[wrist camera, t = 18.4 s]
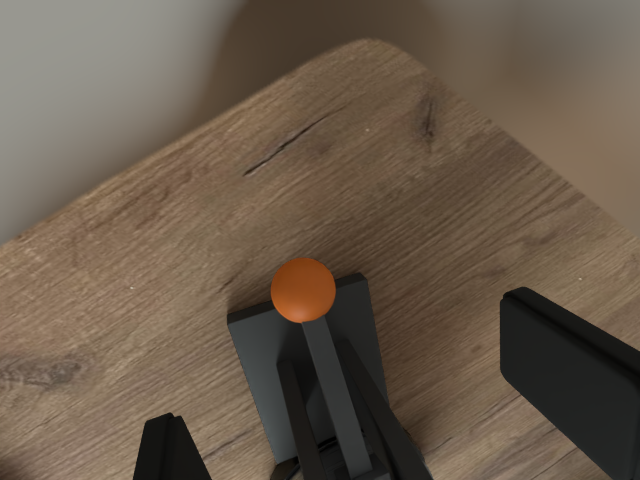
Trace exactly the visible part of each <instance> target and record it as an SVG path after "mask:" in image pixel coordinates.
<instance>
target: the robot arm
mask: <svg viewBox="0 0 640 480" xmlns="http://www.w3.org/2000/svg"><path fill="white" fill-rule="evenodd" d="M500 370H501V373H502V375H503V377H504V378H505V380H506V381H507V382H508V383H509V384H511V385H512V386H513V387H514V388H515V389H516V390H517V391H518V392H519V393H520V394H521V395H522V396H523V397H525V398H526V399H527V400H528V401H529V402H530V403H531V404H532V405H533V406H534V407H535V408H536V409H537V410H539V411H540V412H541V413H542V414H543V415H544V416H545V417H546V418H547V419H548V420H549V421H550V422H551V423H553V424H554V425H555V426H556V427H557V428H558V429H559V430H560V431H561V432H562V433H563V434H564V435H565V436H567V437H568V438H569V439H570V440H571V441H572V442H573V443H574V444H575V445H576V446H577V447H578V448H579V449H581V450H582V451H583V452H584V453H585V454H586V455H587V456H588V457H589V458H590V459H591V460H592V461H593V462H595V463H596V464H597V465H598V466H599V467H600V468H601V469H602V470H603V471H604V472H605V473H606V474H607V475H609V476H610V477H611V478H612V479H613V480H640V351H638V350H636V349H635V348H633V347H631V346H629V345H628V344H626V343H624V342H622V341H621V340H619V339H617V338H615V337H614V336H612V335H610V334H608V333H607V332H605V331H603V330H601V329H600V328H598V327H596V326H594V325H593V324H591V323H589V322H587V321H586V320H584V319H582V318H580V317H579V316H577V315H575V314H573V313H572V312H570V311H568V310H566V309H564V308H563V307H561V306H559V305H557V304H556V303H554V302H552V301H550V300H549V299H547V298H545V297H543V296H542V295H540V294H538V293H536V292H535V291H533V290H531V289H529V288H527V287H520V288H517V289H514V290H511V291H509V292H506V293H505V294H504V295H503V299H502V300H501V301H500ZM133 480H212V479H211V477H210V475H209V473H208V471H207V468H206V466H205V464H204V462H203V460H202V458H201V456H200V454H199V452H198V450H197V447H196V445H195V443H194V441H193V439H192V437H191V435H190V433H189V431H188V429H187V427H186V424H185V422H184V420H183V418H182V417H181V416H177V417H174V415H173V414H172V413H167V414H164V415H161V416H159V417H156V418H153V419H150V420H147V421H146V423H145V425H144V430H143V434H142V439H141V443H140V448H139V453H138V457H137V462H136V467H135V471H134V476H133Z"/></svg>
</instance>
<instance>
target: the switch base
mask: <svg viewBox="0 0 640 480" xmlns="http://www.w3.org/2000/svg"><path fill="white" fill-rule="evenodd" d="M334 282H335V287H336V294H335V299H334V302H333V304H332V306H331V308H330V309H329V311H328V312H327V313H326V314H325V315H324V316H325V319H326V322H327V326H328V329H329V332H330V335H331V338H332V341H333V345H334V348H335V351H336V354H337V357H338V360H339V363H340V367H341V370H342V373H343V376H344V379H345V382H346V385H347V389H348V392H349V395H350V398H351V401H352V404H353V407H354V411H355V414H356V417H357V420H358V423H359V426H360V429H363V431H364V433H365V435H366V437H367V439H368V441H369V443H370V445H371V448H372V450H373V452H374V453H375V454H376V455H377V456H378V458H379V459H380V460H381V462H382V463H383V465H384V466H385V467H386V469H387V470H388V471H389V473H390V475H391V478H392V480H434V479H433V477H432V474H431V472H430V470H429V469H428V467H427V465H426V464H425V463H424V462H423V461H422V460H421V458H420V457H419V455H418V453H417V452H416V450H415V448H414V447H413V445H412V443H411V442H410V440H409V438H408V437H407V435H406V433H405V432H404V430H403V428H402V427H401V425H400V424H399V422H398V420H397V419H396V417H395V415H394V414H393V412H392V410H391V409H390V405H389V400H388V394H387V389H386V383H385V378H384V372H383V367H382V361H381V355H380V350H379V344H378V339H377V333H376V328H375V322H374V317H373V311H372V306H371V300H370V294H369V289H368V283H367V279H366V278H365V277H364V276H363V275H362V274H361V273H360V272H359V273H356V274H353V275H350V276H347V277H344V278H340V279H337V280H334ZM227 325H228V328H229V331H230V334H231V336H232V339H233V342H234V345H235V348H236V350H237V353H238V356H239V359H240V362H241V365H242V367H243V370H244V373H245V376H246V379H247V381H248V384H249V387H250V390H251V393H252V396H253V398H254V401H255V404H256V407H257V410H258V412H259V415H260V418H261V421H262V424H263V427H264V429H265V432H266V435H267V438H268V441H269V443H270V446H271V449H272V452H273V455H274V458H275V460H276V463H277V464H278V463H280V462H283V461H285V460H288V459H290V458H293V457H295V456H298V459H299V463H300V467H301V471H302V475H303V479H304V480H328V478H327V475H326V472H325V468H324V465H323V462H322V459H321V456H320V452H319V449H318V446H317V445H318V444H319V443H321V442H323V441H325V440H327V439H329V438H331V437H334V436H336V435H335V432H334V428H333V425H332V422H331V419H330V415H329V412H328V409H327V405H326V402H325V399H324V396H323V392H322V389H321V386H320V383H319V379H318V376H317V373H316V370H315V366H314V363H313V360H312V357H311V353H310V350H309V347H308V343H307V340H306V337H305V334H304V330H303V327H302V324H301V323H297V322H293V321H290V320H288V319H286V318H285V317H284V316H282V315H281V314H280V313H279V312H278V310H277V309H276V308H275V306H274V304H273V301H272V300H271V301H268V302H265V303H262V304H259V305H256V306H253V307H249V308H246V309H243V310H240V311H237V312H234V313H231V314H228V315H227Z"/></svg>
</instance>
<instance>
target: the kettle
mask: <svg viewBox="0 0 640 480" xmlns="http://www.w3.org/2000/svg"><path fill="white" fill-rule="evenodd" d="M402 428H403V427H402ZM403 430H404V432H405V433H406V435H407V437H408V438H409V440H410V442H411V443H412V445H413V447H414V448H415V450H416V452H417V453H418V455H419V457H420V458H421V460H422V461H423V462H424V463H425V460H424V458H423V456H422V453H421V452H420V450H419V448H418V447H417V445H416V443H415V442H414V440H413V439H412V437H411V436H410V434H409V433H408V432H407V431H406V430H405V429H404V428H403ZM361 433H362V436H363V439H364V442H365V445H366V448H367V451H368V455H370V454H373V453H374V452H373V450H372V448H371V445H370V443H369V441H368V439H367V437H366V435H365V433H364V431H363V429H361ZM317 446H318V449H319V452H320V456H321V459H322V462H323V465H324V468H325V472H326V475H327V478H328V480H336V477H335V474H334V469H337V468H339V467H341V466H344V465H345V464H344V461H343V458H342V454H341V451H340V448H339V445H338V441H337V438H336V436H334V437H331V438H329V439H327V440H325V441H323V442H321V443H319V444H318V445H317ZM271 480H304V479H303V475H302V471H301V467H300V463H299V459H298V456H295V457H293V458H290V459H288V460H285V461H283V462H280V463H279V464H278V466H277V468H276V469H275V471H274V473H273V475H272V477H271Z"/></svg>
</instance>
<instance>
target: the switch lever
mask: <svg viewBox="0 0 640 480" xmlns="http://www.w3.org/2000/svg"><path fill="white" fill-rule="evenodd" d="M335 294H336V287H335V282H334V278H333V276H332V274H331V272H330V271H329V270H328V269H327V268H326V266H324V265H323V264H322V263H320V262H319V261H317V260H314V259H311V258H296V259H293V260H290V261H288V262H286V263H285V264H284V265H282V266H281V267H280V268H279V269H278V271H277V272H276V274H275V275H274V278H273V280H272V284H271V297H272V301H273V304H274V306H275V308H276V309H277V310H278V312H279V313H280V314H281V315H282V316H284V317H285V318H286V319H288V320H290V321H293V322H297V323H301V324H302V327H303V330H304V334H305V337H306V340H307V343H308V347H309V350H310V353H311V357H312V360H313V363H314V366H315V370H316V373H317V376H318V379H319V383H320V386H321V389H322V392H323V396H324V399H325V402H326V405H327V409H328V412H329V415H330V419H331V422H332V425H333V428H334V432H335V435H336V438H337V441H338V445H339V448H340V451H341V454H342V458H343V461H344V464H345V465H344V466H341V467H339V468H337V469H334V474H335V477H336V480H392V478H391V475H390V473H389V471H388V470H387V469H386V467H385V466H384V465H383V463H382V462H381V460H380V459H379V458H378V456H377V455H376V454H375V453H373V454H370V455H368V451H367V448H366V445H365V442H364V439H363V436H362V433H361V429H360V426H359V423H358V420H357V417H356V414H355V411H354V407H353V404H352V401H351V398H350V395H349V392H348V389H347V385H346V382H345V379H344V376H343V373H342V370H341V367H340V363H339V360H338V357H337V354H336V351H335V348H334V345H333V341H332V338H331V335H330V332H329V329H328V326H327V322H326V319H325V316H324V315H325V314H326V313H327V312H328V311H329V309H330V308H331V306H332V304H333V302H334V299H335Z"/></svg>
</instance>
